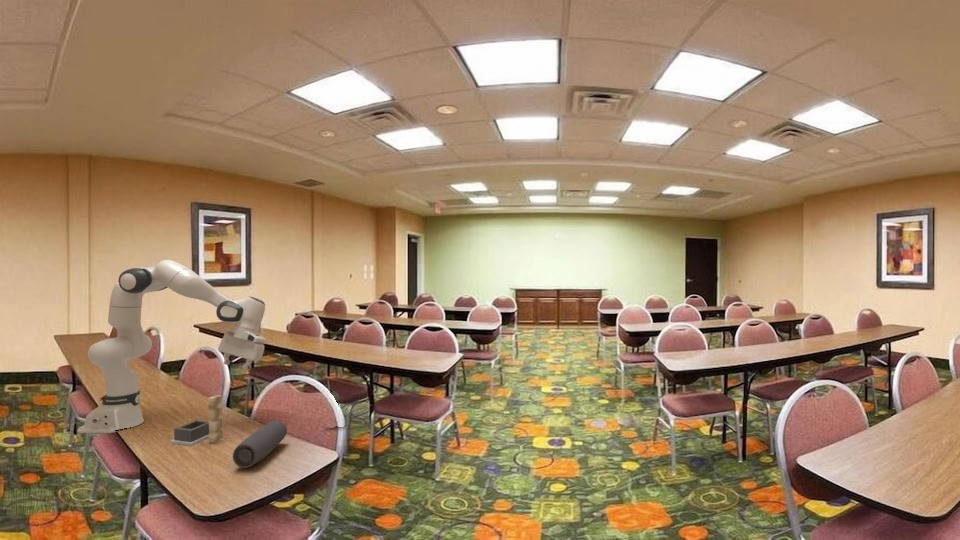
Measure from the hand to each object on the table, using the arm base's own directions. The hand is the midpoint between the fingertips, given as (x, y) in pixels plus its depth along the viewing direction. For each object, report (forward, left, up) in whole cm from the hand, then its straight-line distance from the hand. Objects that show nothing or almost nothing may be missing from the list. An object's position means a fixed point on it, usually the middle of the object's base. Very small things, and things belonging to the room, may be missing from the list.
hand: (235, 367), depth 188 cm
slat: (-4, -12, -27) cm, 29 cm away
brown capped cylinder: (+39, -5, -27) cm, 48 cm away
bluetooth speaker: (+18, -30, -27) cm, 44 cm away
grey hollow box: (-14, -7, -27) cm, 31 cm away
